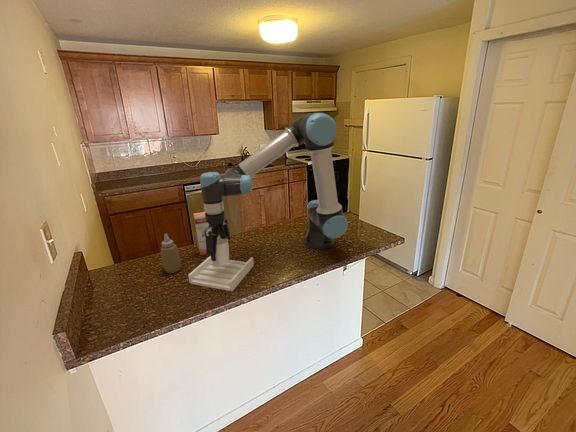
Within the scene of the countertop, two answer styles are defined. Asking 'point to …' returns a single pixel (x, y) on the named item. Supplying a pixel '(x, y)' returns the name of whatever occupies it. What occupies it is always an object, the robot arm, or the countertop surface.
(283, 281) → the countertop surface
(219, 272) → the drying rack
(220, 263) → the white cup
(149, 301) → the countertop surface
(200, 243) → the cracker box
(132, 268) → the countertop surface
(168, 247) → the squeeze bottle
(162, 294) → the countertop surface
